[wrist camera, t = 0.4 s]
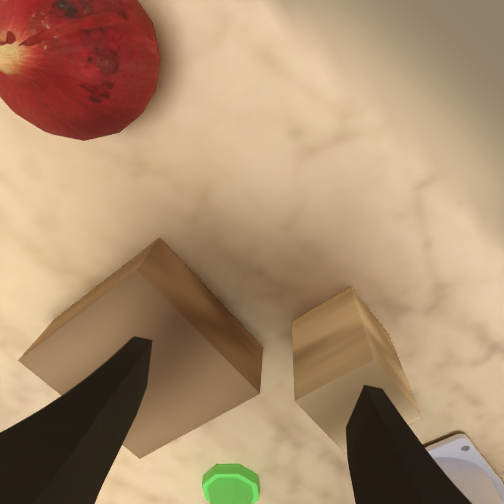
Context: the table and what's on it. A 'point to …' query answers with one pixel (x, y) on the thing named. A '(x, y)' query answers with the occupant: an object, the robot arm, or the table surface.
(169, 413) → the walnut block
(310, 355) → the maple block
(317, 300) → the table surface
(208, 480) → the game piece
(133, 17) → the onion
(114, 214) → the table surface
